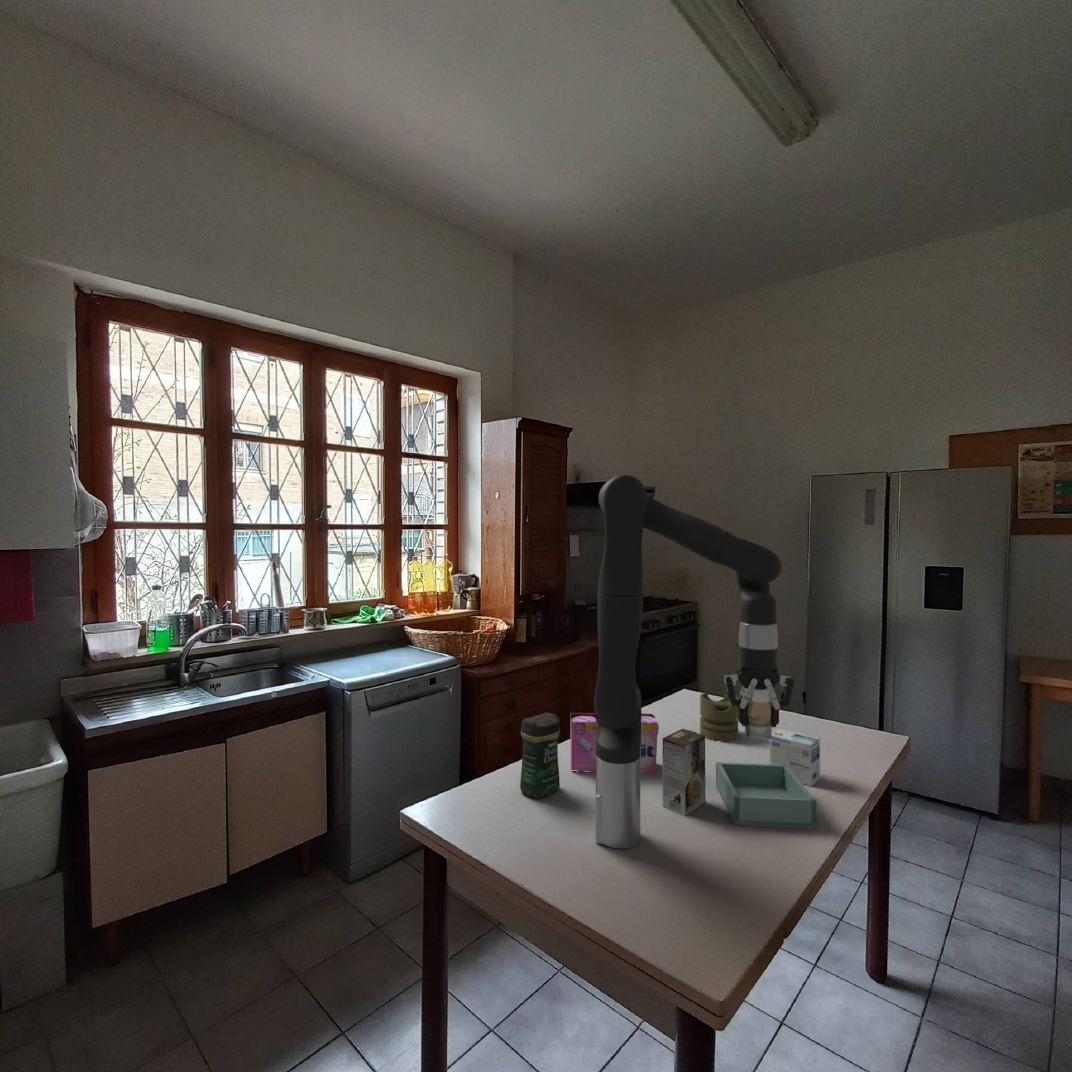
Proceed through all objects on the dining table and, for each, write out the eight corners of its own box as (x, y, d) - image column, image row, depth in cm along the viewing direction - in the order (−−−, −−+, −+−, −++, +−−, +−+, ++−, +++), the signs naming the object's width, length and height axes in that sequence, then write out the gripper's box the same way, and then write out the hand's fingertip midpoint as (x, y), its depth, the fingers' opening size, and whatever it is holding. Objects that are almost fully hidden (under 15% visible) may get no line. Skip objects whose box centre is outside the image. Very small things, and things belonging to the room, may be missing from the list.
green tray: (734, 824, 127) (734, 797, 126) (716, 786, 145) (716, 762, 145) (815, 828, 125) (816, 800, 125) (786, 788, 144) (786, 764, 144)
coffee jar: (537, 802, 137) (537, 724, 137) (515, 791, 143) (514, 716, 142) (565, 789, 144) (565, 714, 143) (543, 779, 149) (543, 707, 149)
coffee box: (682, 793, 141) (682, 727, 141) (706, 802, 137) (706, 734, 137) (661, 806, 135) (661, 737, 135) (685, 816, 130) (685, 744, 130)
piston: (741, 703, 174) (703, 701, 176) (741, 743, 175) (702, 741, 176) (734, 692, 186) (697, 691, 187) (734, 730, 186) (697, 728, 187)
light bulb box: (820, 779, 150) (821, 737, 150) (812, 787, 145) (812, 744, 145) (778, 767, 157) (778, 727, 157) (769, 775, 152) (769, 734, 152)
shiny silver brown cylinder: (748, 739, 118) (748, 690, 118) (741, 730, 124) (741, 683, 124) (775, 740, 118) (775, 690, 118) (767, 731, 123) (767, 684, 123)
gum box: (656, 762, 161) (656, 713, 160) (661, 774, 153) (662, 722, 153) (570, 761, 162) (570, 712, 161) (570, 773, 154) (570, 721, 154)
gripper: (726, 647, 118) (726, 730, 118) (800, 648, 116) (800, 733, 116) (718, 640, 125) (719, 718, 125) (788, 641, 124) (788, 720, 124)
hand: (758, 725), depth 121 cm, fingers closed on shiny silver brown cylinder, 5 cm apart
